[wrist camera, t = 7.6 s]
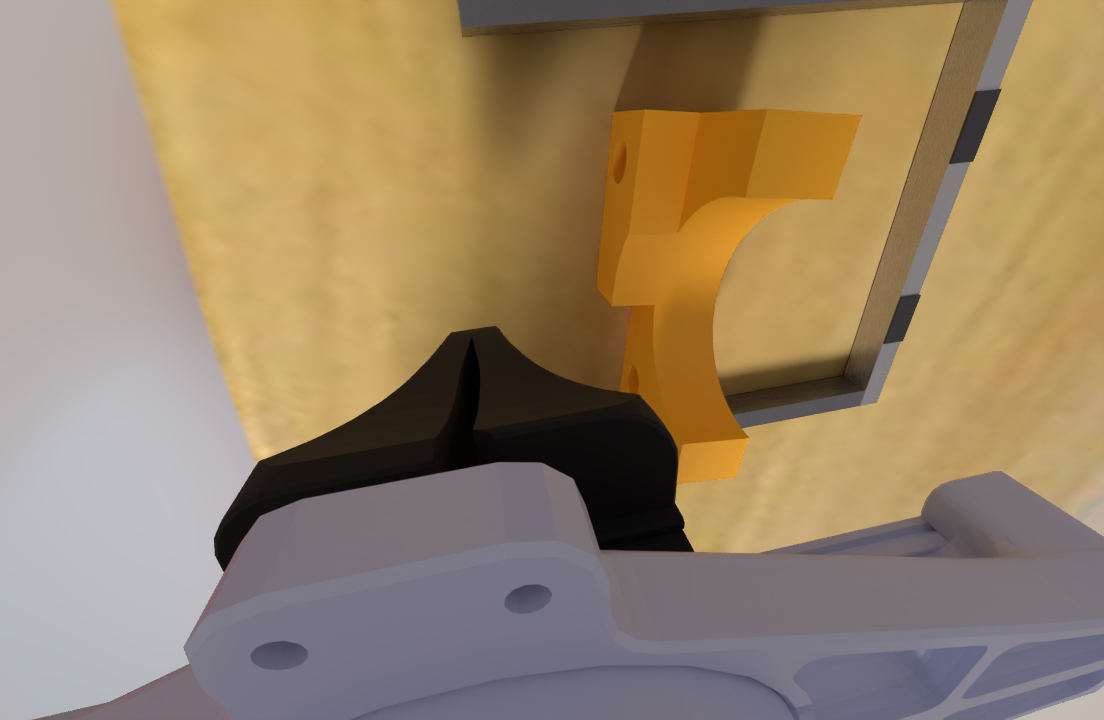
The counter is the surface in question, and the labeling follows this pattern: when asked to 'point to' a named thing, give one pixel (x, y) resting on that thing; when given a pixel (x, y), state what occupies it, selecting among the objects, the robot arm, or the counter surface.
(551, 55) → the counter surface
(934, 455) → the counter surface
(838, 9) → the frame
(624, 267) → the pipe clamp
